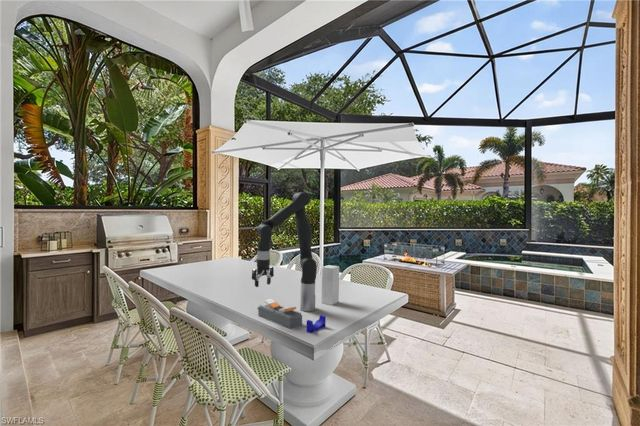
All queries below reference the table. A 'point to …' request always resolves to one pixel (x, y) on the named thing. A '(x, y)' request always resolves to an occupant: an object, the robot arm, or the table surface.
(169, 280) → the table surface
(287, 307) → the block
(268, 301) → the rocker
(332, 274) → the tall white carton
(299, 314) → the box
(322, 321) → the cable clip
